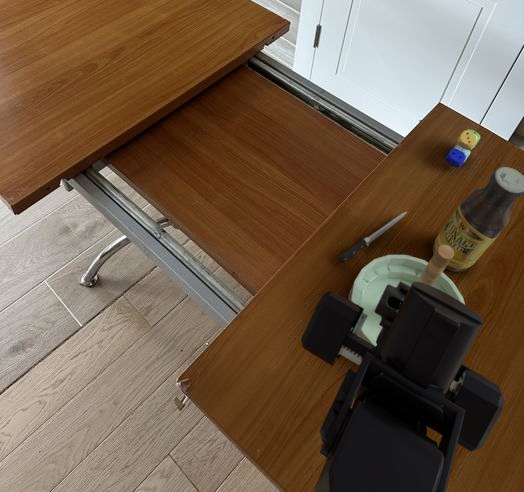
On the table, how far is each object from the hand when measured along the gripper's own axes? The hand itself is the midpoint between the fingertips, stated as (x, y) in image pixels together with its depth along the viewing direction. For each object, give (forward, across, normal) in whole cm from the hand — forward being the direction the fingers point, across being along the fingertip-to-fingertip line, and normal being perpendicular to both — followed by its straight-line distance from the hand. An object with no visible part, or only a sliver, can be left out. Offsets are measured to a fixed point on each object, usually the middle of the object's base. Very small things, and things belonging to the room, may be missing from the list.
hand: (401, 339), depth 58 cm
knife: (+20, +8, -5) cm, 22 cm away
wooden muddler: (+12, 0, +1) cm, 13 cm away
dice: (+37, +2, -22) cm, 43 cm away
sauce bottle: (+23, -3, -8) cm, 24 cm away
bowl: (+13, 0, +2) cm, 13 cm away
